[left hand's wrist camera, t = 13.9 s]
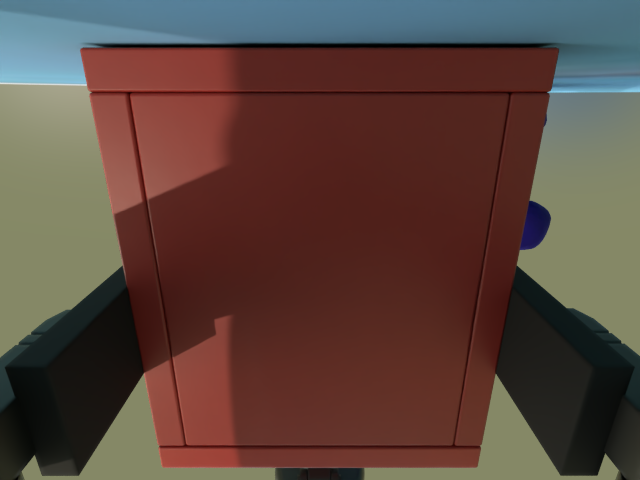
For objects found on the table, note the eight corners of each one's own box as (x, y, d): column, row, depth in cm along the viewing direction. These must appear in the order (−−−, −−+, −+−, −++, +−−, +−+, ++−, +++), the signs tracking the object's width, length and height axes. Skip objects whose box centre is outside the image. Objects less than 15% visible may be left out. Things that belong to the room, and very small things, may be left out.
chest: (399, 79, 24) (388, 243, 28) (240, 79, 24) (251, 243, 28) (560, 47, 8) (482, 446, 12) (78, 47, 8) (156, 446, 12)
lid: (386, 239, 29) (380, 334, 32) (253, 239, 29) (259, 334, 32) (482, 448, 12) (449, 611, 15) (157, 447, 12) (189, 611, 15)
